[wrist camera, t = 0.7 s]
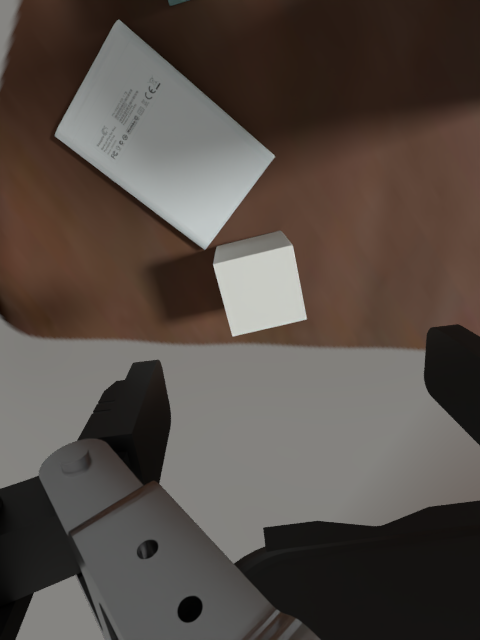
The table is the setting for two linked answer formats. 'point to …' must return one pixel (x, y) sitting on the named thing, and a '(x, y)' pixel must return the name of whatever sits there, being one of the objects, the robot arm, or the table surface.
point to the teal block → (176, 2)
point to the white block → (259, 283)
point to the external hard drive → (161, 138)
